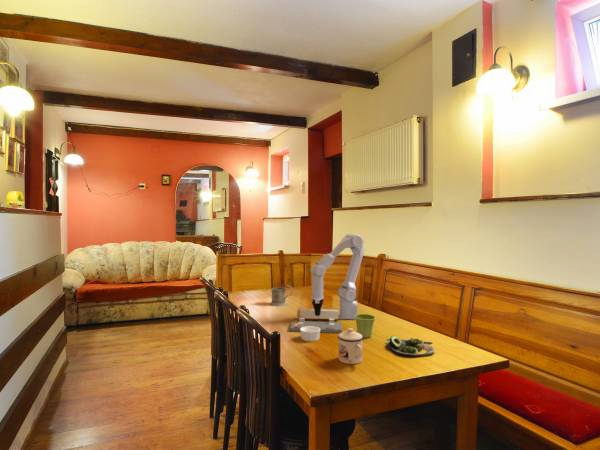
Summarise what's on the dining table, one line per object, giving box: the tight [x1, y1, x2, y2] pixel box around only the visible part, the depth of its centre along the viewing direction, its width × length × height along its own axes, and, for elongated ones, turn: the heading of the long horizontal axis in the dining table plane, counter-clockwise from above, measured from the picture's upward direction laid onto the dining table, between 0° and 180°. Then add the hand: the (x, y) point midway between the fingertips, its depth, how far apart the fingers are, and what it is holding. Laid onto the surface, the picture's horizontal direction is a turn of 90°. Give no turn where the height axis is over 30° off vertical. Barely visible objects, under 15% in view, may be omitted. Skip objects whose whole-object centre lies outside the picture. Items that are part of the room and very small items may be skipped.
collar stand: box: [289, 318, 343, 334], centre depth 175 cm, size 24×12×4 cm, turn 85°
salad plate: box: [385, 335, 436, 358], centre depth 148 cm, size 19×18×5 cm
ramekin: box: [300, 326, 321, 342], centre depth 160 cm, size 9×9×4 cm
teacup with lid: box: [337, 327, 364, 365], centre depth 135 cm, size 12×9×12 cm
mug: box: [269, 284, 294, 307], centre depth 223 cm, size 14×10×12 cm
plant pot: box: [354, 313, 377, 339], centre depth 164 cm, size 9×9×9 cm
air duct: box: [296, 307, 339, 320], centre depth 189 cm, size 21×4×4 cm, turn 85°
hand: (317, 314), depth 189 cm, fingers closed on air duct, 4 cm apart
